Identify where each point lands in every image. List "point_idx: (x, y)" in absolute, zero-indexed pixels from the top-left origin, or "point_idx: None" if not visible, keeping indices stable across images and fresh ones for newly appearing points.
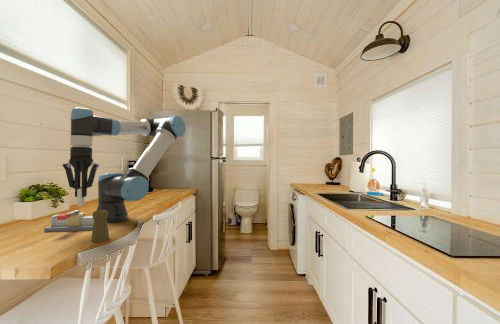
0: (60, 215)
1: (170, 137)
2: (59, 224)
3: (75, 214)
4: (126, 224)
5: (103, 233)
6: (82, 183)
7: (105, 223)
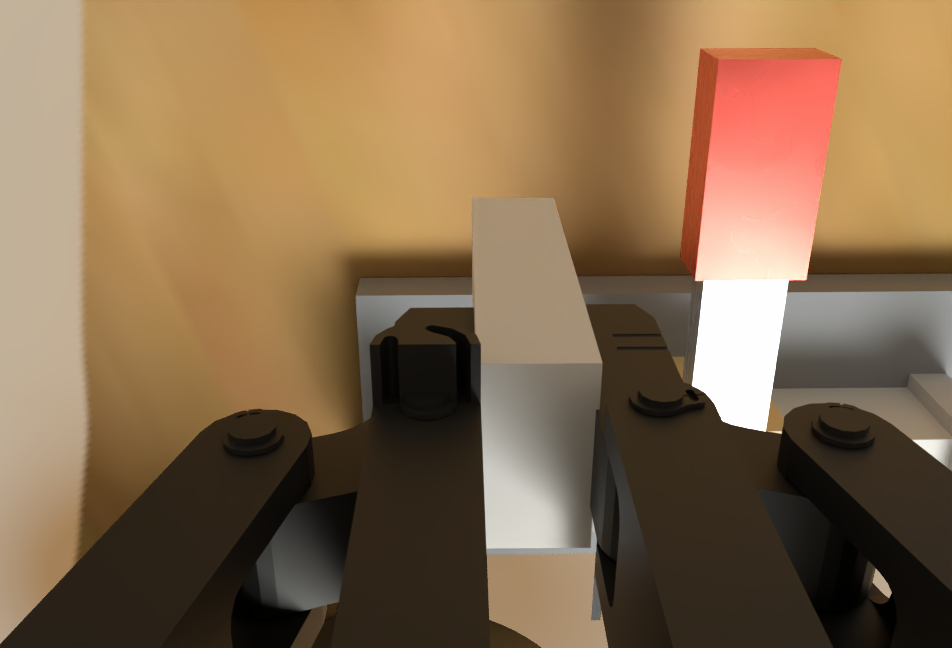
0: (796, 106)
1: None
2: (859, 397)
3: None
4: (111, 507)
5: None
6: (443, 489)
7: None
